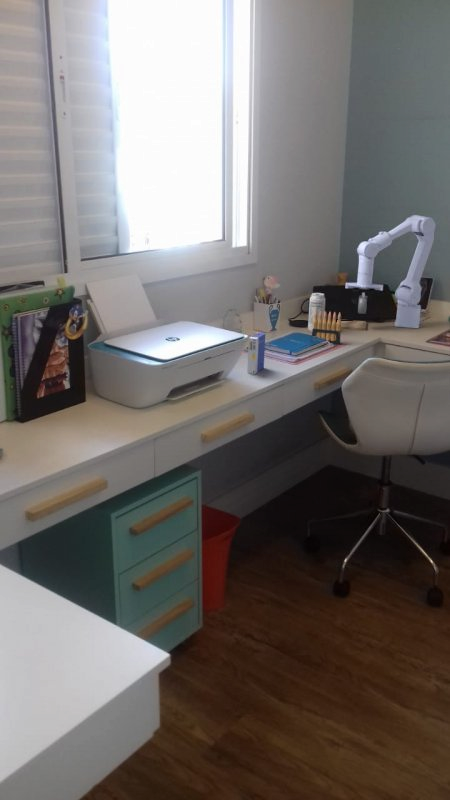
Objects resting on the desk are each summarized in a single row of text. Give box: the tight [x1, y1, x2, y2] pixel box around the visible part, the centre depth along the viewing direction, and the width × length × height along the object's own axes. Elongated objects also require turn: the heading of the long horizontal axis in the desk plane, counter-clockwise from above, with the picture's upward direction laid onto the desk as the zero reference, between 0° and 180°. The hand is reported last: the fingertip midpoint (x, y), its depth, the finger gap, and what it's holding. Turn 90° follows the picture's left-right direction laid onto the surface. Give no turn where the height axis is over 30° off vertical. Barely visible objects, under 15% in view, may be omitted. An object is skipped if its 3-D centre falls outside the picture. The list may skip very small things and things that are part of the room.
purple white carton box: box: [246, 331, 266, 375], centre depth 237 cm, size 8×3×12 cm, turn 155°
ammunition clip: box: [311, 310, 342, 345], centre depth 272 cm, size 11×2×12 cm, turn 73°
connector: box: [357, 292, 368, 315], centre depth 291 cm, size 3×6×8 cm, turn 169°
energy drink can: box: [307, 292, 326, 334], centre depth 286 cm, size 6×6×15 cm
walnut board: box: [336, 320, 367, 331], centre depth 299 cm, size 13×12×1 cm
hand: (362, 307), depth 291 cm, fingers closed on connector, 3 cm apart
